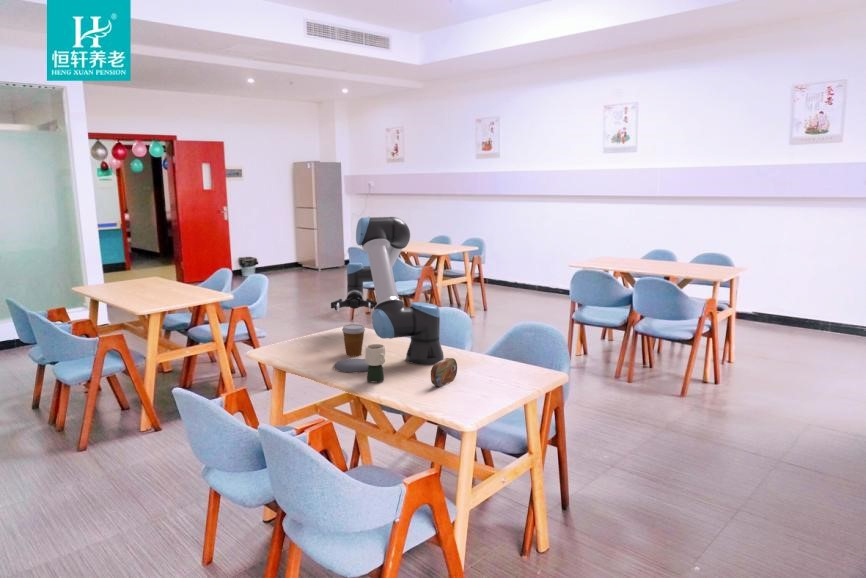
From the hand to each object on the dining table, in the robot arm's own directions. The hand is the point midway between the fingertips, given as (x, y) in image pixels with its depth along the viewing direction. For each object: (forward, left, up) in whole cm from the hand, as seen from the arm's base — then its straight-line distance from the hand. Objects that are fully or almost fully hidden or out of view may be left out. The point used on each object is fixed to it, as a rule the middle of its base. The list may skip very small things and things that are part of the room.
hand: (353, 308), depth 254 cm
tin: (-53, +25, -18) cm, 61 cm away
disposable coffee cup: (-5, +8, -18) cm, 20 cm away
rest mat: (-14, +22, -17) cm, 32 cm away
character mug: (-30, +34, -18) cm, 49 cm away
